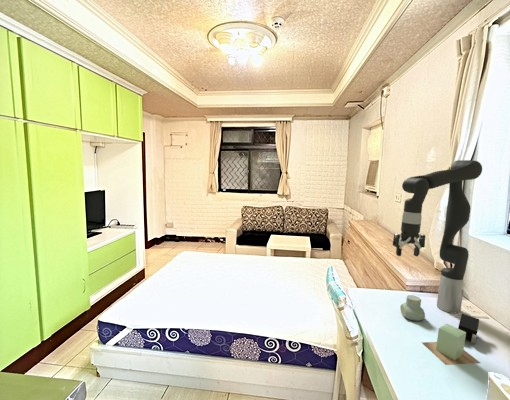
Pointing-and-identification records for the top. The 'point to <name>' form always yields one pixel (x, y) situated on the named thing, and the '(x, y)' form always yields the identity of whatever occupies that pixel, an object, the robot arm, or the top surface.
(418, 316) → the air freshener
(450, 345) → the light green rectangular block
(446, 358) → the walnut board
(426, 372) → the top surface
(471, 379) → the top surface
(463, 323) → the figurine character
